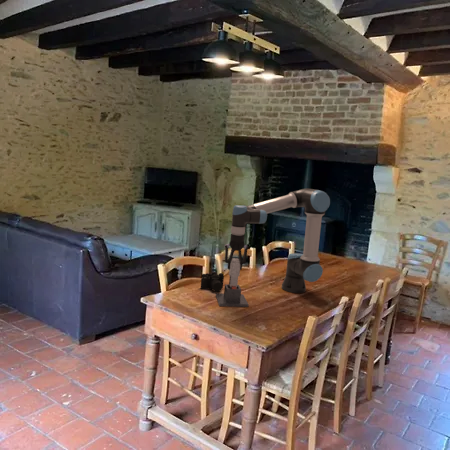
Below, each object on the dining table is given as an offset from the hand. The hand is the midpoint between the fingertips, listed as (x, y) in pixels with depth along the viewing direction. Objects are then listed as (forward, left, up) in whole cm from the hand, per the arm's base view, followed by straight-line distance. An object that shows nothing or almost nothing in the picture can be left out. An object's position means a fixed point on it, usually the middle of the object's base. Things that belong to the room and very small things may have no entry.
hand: (234, 275), depth 232 cm
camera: (+8, -19, -16) cm, 26 cm away
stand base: (0, 0, -15) cm, 15 cm away
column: (0, 0, -12) cm, 12 cm away
